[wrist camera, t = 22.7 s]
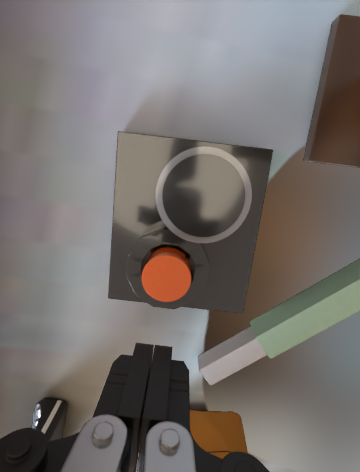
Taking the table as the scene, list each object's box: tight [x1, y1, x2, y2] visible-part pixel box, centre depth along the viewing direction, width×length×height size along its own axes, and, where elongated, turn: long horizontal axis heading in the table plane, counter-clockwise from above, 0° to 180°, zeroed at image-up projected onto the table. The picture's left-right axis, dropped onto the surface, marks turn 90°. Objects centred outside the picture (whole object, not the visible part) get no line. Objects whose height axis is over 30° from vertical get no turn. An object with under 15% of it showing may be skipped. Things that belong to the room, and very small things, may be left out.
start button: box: [142, 247, 191, 302], centre depth 21 cm, size 4×4×2 cm
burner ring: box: [156, 147, 252, 243], centre depth 21 cm, size 7×7×1 cm
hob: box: [108, 131, 273, 313], centre depth 23 cm, size 14×12×4 cm
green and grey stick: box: [198, 259, 360, 385], centre depth 25 cm, size 22×3×3 cm
